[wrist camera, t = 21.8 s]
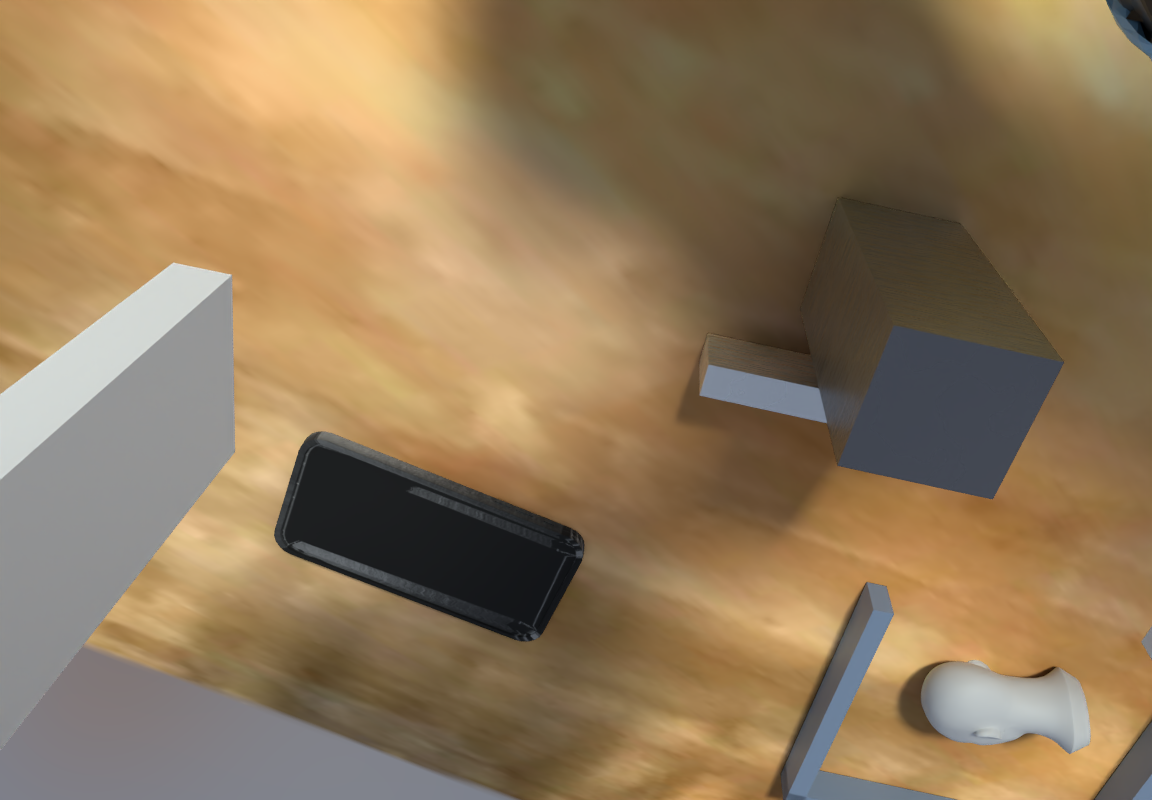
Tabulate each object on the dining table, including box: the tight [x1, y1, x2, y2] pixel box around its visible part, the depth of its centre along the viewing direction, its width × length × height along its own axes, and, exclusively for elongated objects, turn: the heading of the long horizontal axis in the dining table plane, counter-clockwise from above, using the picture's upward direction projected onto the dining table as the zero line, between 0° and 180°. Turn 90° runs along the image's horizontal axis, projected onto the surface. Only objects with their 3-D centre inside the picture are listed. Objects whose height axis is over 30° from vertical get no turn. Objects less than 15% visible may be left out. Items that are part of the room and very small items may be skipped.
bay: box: [781, 582, 1152, 800], centre depth 49 cm, size 15×18×2 cm
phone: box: [274, 432, 584, 641], centre depth 48 cm, size 8×1×15 cm
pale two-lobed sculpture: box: [921, 660, 1090, 754], centre depth 47 cm, size 4×8×5 cm
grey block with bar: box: [699, 197, 1064, 499], centre depth 34 cm, size 8×12×12 cm
